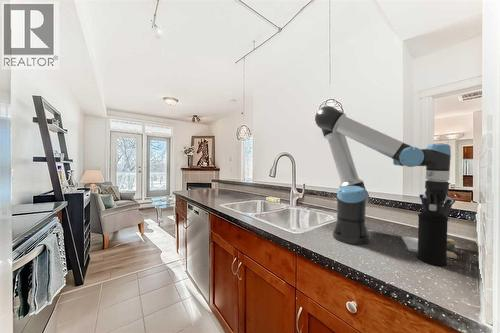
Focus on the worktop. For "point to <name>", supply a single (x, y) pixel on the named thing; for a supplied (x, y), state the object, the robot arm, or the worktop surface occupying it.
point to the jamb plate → (411, 243)
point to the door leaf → (451, 250)
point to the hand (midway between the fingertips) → (434, 235)
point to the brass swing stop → (450, 241)
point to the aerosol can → (432, 237)
